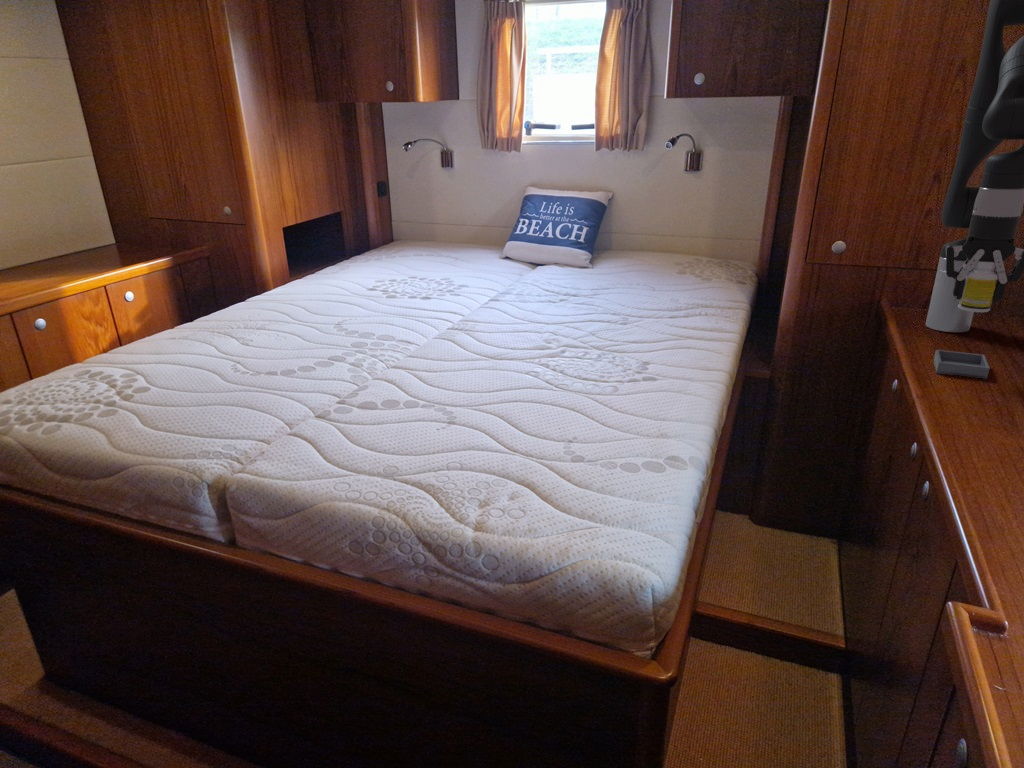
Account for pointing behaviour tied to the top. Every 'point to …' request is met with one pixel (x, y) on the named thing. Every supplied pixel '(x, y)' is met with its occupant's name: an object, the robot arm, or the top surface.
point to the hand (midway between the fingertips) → (975, 299)
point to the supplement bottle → (979, 288)
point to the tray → (961, 364)
